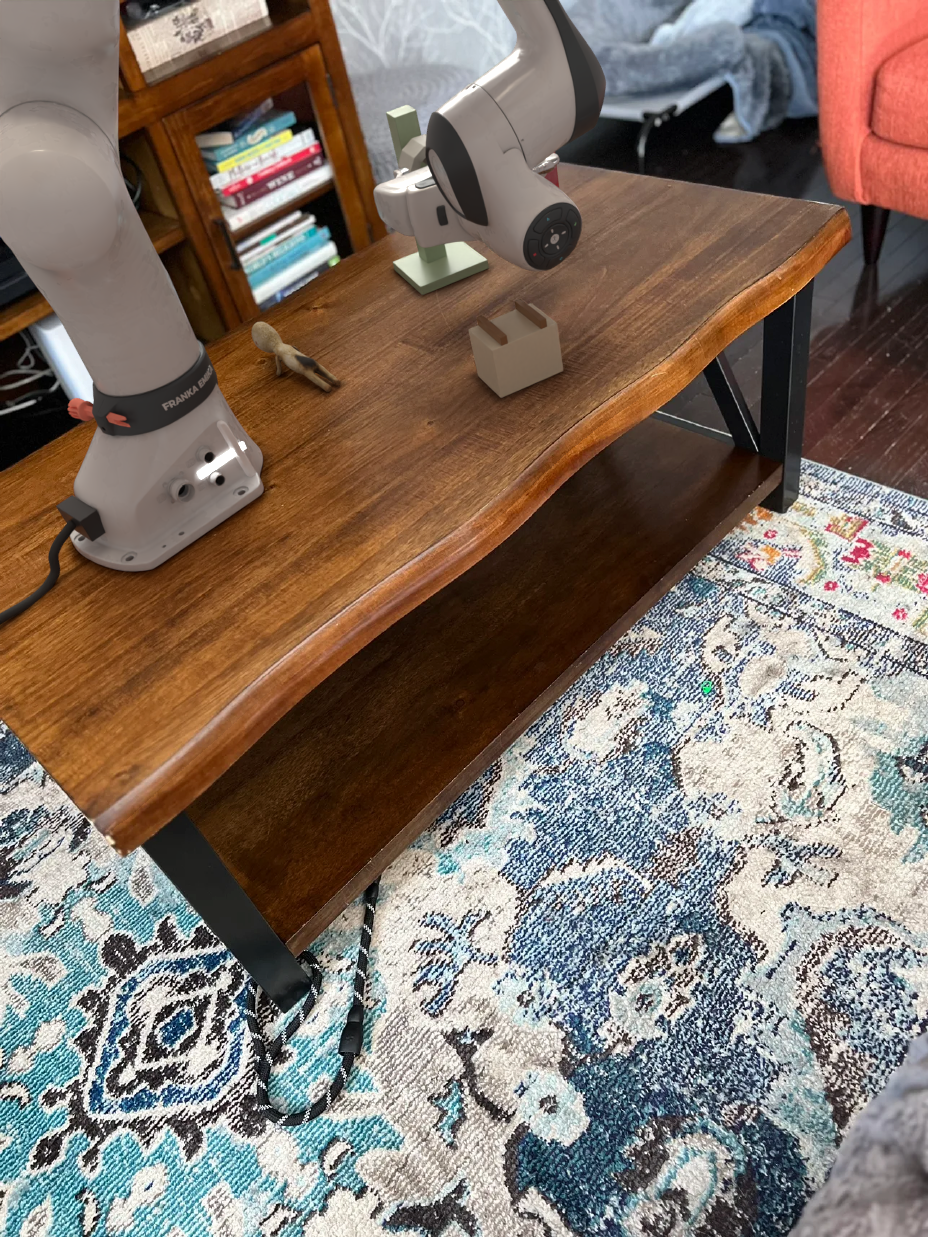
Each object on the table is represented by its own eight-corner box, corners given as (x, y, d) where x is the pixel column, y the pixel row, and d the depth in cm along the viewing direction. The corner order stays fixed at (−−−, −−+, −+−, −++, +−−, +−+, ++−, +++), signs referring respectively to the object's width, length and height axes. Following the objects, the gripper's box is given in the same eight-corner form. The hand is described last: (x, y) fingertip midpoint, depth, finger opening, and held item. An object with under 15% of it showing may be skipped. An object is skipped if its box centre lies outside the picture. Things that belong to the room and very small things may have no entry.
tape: (464, 190, 120) (455, 135, 115) (417, 207, 118) (405, 152, 114) (451, 182, 123) (442, 127, 118) (404, 198, 121) (393, 144, 117)
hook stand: (497, 274, 127) (469, 114, 113) (429, 301, 125) (392, 143, 111) (458, 244, 136) (427, 92, 122) (394, 269, 134) (355, 118, 120)
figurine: (348, 394, 117) (270, 340, 123) (342, 365, 113) (263, 311, 119) (325, 410, 115) (247, 354, 122) (319, 380, 112) (239, 325, 118)
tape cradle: (563, 370, 108) (556, 313, 103) (500, 398, 106) (490, 341, 101) (538, 349, 112) (529, 294, 107) (477, 375, 110) (466, 320, 105)
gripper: (563, 132, 106) (506, 105, 115) (396, 197, 102) (351, 163, 111) (569, 189, 110) (514, 158, 119) (410, 253, 106) (366, 216, 116)
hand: (434, 161), depth 115 cm, fingers open, 8 cm apart
